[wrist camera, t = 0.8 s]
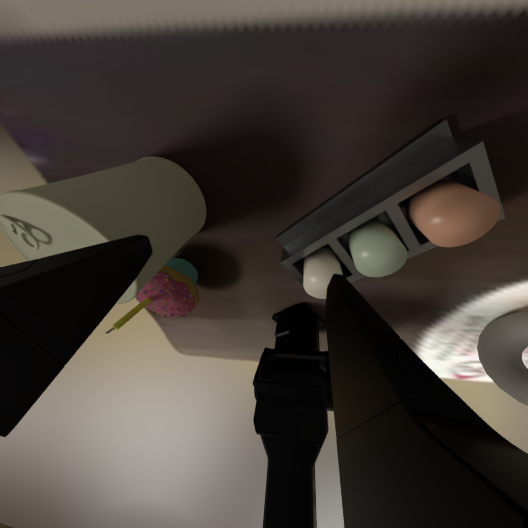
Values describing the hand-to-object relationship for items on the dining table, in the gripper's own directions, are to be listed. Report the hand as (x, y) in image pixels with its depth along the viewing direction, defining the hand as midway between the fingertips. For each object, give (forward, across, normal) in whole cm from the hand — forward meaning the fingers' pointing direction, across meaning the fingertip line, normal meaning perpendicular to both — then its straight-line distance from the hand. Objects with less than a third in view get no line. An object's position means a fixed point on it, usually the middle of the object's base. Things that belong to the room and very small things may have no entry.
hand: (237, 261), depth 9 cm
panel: (+12, -10, +2) cm, 16 cm away
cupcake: (+13, +12, +14) cm, 22 cm away
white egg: (+10, -6, +6) cm, 13 cm away
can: (+13, +12, +3) cm, 18 cm away
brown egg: (+10, -13, -2) cm, 16 cm away
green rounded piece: (+10, -10, +2) cm, 14 cm away
